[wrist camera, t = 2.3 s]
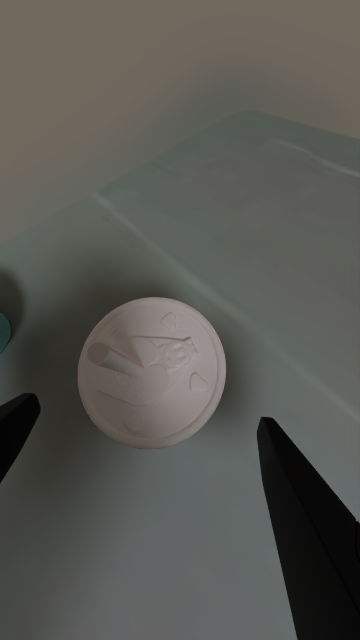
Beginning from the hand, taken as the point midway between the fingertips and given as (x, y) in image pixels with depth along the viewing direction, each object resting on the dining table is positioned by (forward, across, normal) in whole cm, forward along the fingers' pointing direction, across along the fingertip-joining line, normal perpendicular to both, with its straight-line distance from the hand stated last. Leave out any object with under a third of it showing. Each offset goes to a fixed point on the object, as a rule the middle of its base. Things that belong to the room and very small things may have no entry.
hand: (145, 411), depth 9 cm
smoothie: (+8, 0, +6) cm, 10 cm away
